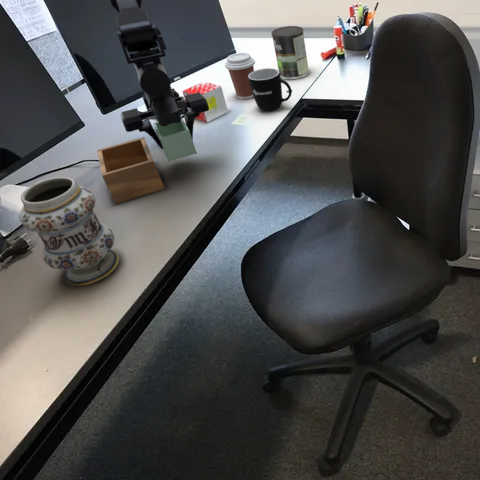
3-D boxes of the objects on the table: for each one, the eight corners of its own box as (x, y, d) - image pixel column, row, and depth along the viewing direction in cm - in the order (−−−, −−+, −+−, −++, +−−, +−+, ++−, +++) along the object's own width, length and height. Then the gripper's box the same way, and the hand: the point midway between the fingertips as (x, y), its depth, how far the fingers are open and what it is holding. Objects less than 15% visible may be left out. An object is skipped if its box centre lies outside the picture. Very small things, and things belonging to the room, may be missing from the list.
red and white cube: (207, 122, 140) (199, 96, 135) (190, 116, 144) (182, 91, 139) (228, 111, 145) (221, 85, 140) (211, 106, 149) (204, 81, 144)
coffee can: (284, 82, 159) (276, 37, 151) (275, 72, 167) (267, 30, 158) (313, 75, 162) (307, 31, 153) (303, 66, 170) (297, 23, 161)
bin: (161, 145, 119) (153, 122, 116) (188, 137, 121) (180, 115, 118) (168, 161, 113) (160, 138, 109) (196, 153, 115) (189, 130, 111)
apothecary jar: (133, 245, 98) (95, 167, 86) (112, 287, 88) (66, 207, 77) (74, 250, 98) (29, 173, 86) (46, 292, 88) (-9, 213, 77)
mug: (250, 113, 142) (242, 79, 136) (262, 100, 149) (255, 67, 143) (289, 114, 140) (282, 80, 133) (299, 101, 146) (293, 68, 140)
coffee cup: (267, 92, 154) (259, 54, 146) (244, 103, 149) (234, 63, 141) (250, 86, 159) (241, 49, 151) (227, 96, 154) (217, 58, 146)
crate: (109, 176, 120) (96, 149, 115) (154, 163, 123) (144, 136, 118) (115, 204, 110) (101, 175, 105) (164, 188, 113) (153, 160, 109)
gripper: (114, 104, 98) (142, 171, 108) (205, 82, 104) (223, 147, 114) (108, 87, 106) (135, 150, 116) (193, 67, 112) (211, 129, 121)
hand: (177, 144), depth 116 cm, fingers closed on bin, 6 cm apart
